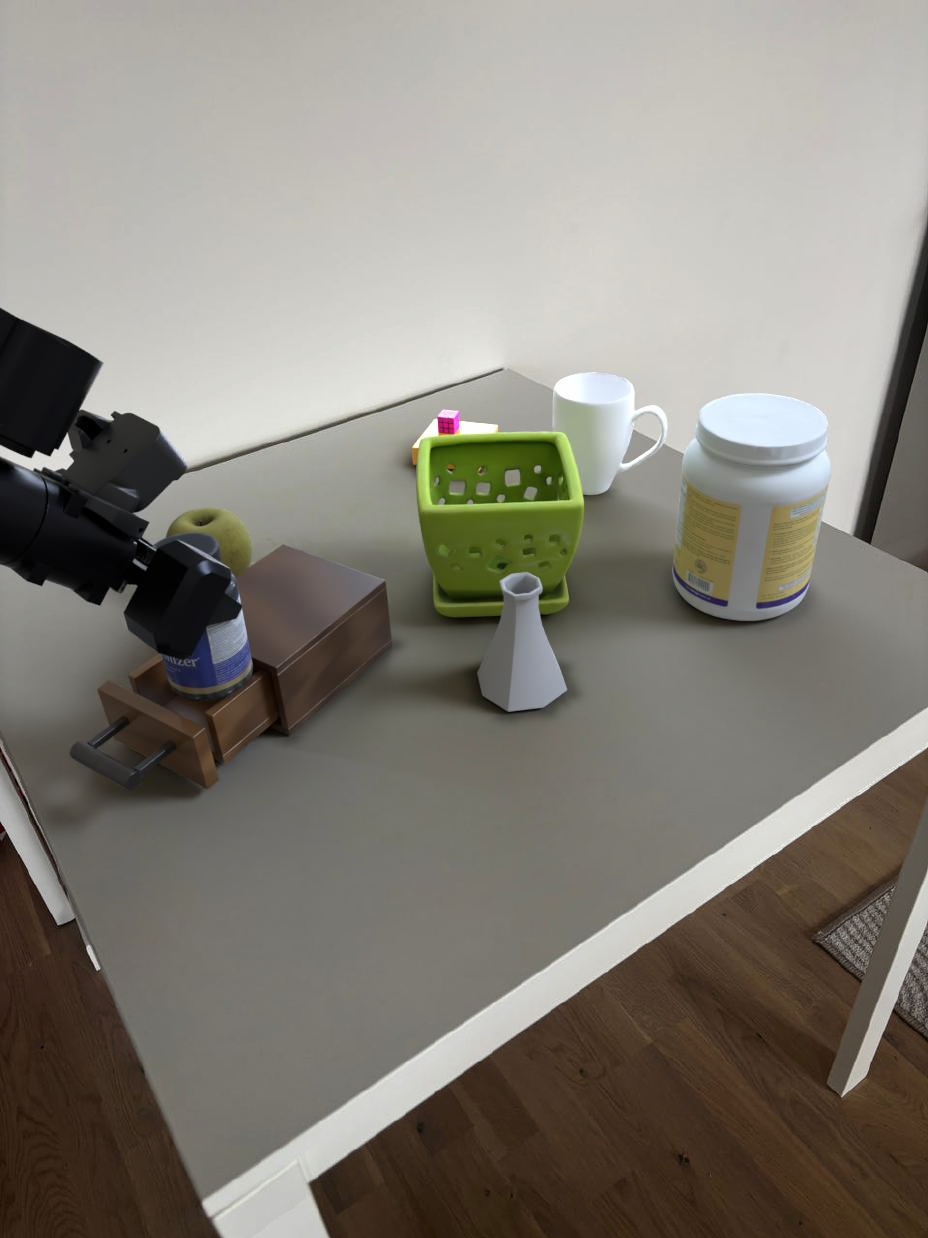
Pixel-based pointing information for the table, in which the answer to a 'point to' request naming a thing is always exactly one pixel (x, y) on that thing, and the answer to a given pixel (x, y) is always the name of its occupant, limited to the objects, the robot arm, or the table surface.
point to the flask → (520, 651)
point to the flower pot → (498, 518)
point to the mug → (600, 425)
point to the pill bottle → (211, 644)
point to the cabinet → (311, 628)
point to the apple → (218, 534)
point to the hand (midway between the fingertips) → (212, 594)
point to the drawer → (176, 726)
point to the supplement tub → (751, 506)
